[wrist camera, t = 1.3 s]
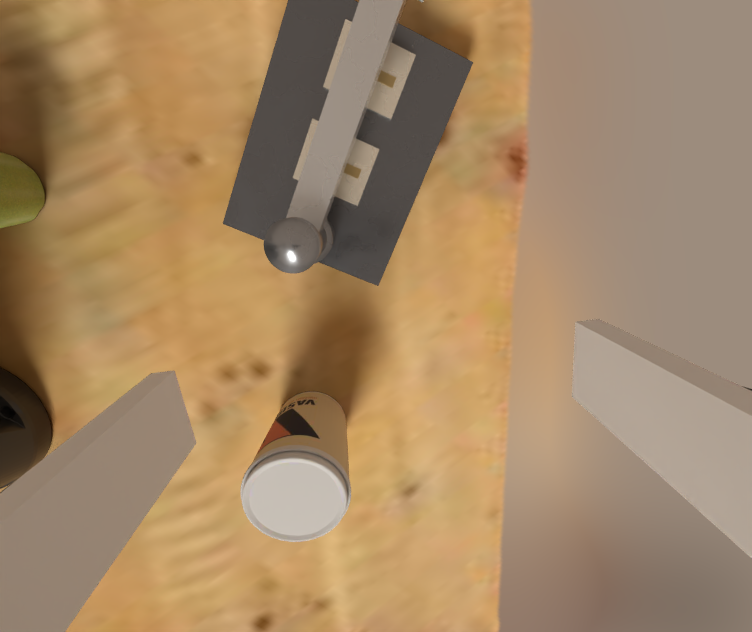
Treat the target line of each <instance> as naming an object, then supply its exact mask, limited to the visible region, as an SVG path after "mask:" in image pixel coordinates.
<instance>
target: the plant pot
mask: <svg viewBox="0 0 752 632" xmlns="http://www.w3.org/2000/svg"><path fill="white" fill-rule="evenodd" d="M44 202H45V194H44V189H43V186H42V183H41V181H40V179H39V177H38V176H37V174H36V173H35V172H34V171H33V170H32V169H31V168H30V167H28V166H27V165H26V164H24V163H23V162H22V161H20V160H19V159H18V158H16V157H14V156H12V155H9V154H5V153H2V152H0V228H3V227H8V226H13V225H17V224H22V223H26V222H29V221H31V220H33V219H35V218H36V216H37V214H38V213H39V211H40V210H41V208H42V207H43V206H44Z"/></svg>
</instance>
